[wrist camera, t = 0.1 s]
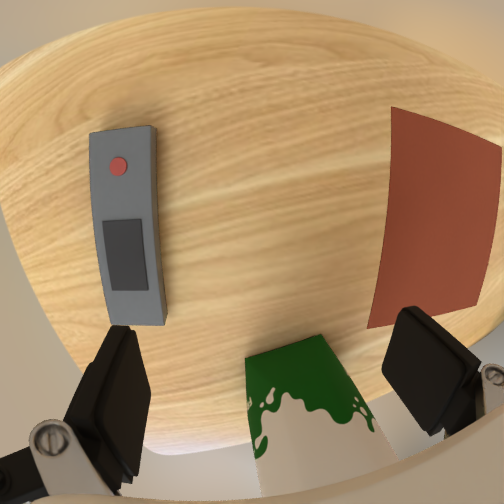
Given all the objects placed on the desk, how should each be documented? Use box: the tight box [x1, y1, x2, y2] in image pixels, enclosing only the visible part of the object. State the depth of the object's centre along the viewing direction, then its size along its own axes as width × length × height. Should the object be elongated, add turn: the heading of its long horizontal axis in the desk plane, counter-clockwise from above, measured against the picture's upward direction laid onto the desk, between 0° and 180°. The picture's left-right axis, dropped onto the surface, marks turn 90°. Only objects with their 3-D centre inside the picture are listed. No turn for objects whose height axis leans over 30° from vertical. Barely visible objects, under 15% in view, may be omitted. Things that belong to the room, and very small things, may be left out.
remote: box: [89, 125, 168, 326], centre depth 18 cm, size 14×4×2 cm, turn 179°
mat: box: [367, 107, 502, 329], centre depth 23 cm, size 20×18×1 cm
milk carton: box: [245, 334, 399, 498], centre depth 16 cm, size 9×9×20 cm
